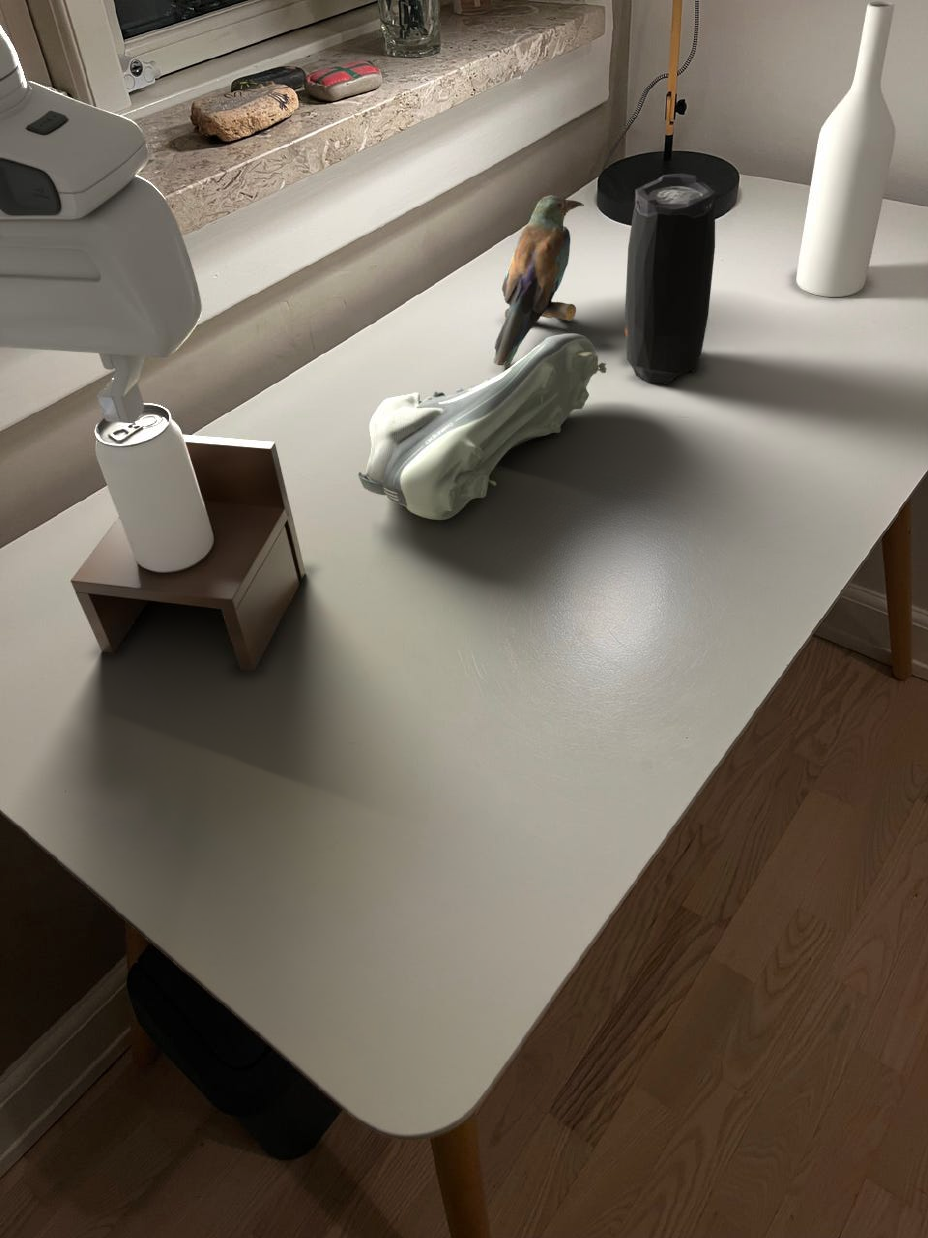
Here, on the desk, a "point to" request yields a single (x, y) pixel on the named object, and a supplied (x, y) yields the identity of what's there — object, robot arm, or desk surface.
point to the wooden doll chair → (210, 554)
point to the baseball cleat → (474, 428)
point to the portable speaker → (669, 276)
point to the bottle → (850, 173)
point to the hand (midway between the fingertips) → (49, 410)
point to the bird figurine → (535, 276)
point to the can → (154, 490)
